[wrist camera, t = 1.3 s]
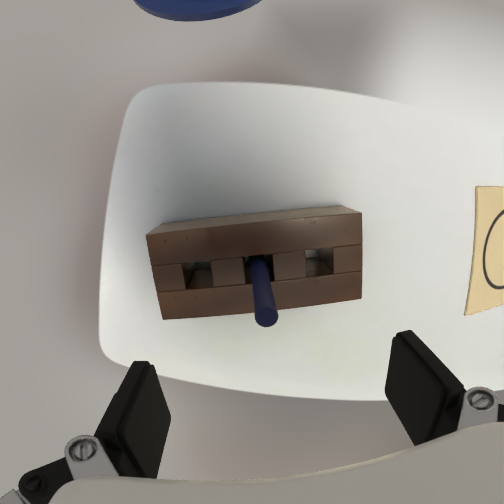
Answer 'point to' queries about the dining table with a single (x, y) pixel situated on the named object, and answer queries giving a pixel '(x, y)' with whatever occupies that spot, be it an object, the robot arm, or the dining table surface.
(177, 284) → the pen stand
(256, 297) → the pen
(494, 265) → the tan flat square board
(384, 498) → the robot arm
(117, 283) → the dining table surface
